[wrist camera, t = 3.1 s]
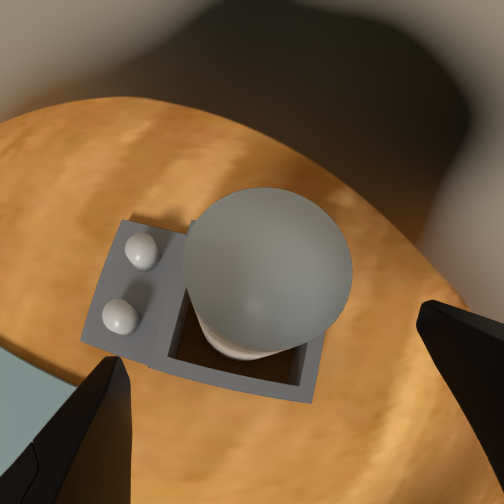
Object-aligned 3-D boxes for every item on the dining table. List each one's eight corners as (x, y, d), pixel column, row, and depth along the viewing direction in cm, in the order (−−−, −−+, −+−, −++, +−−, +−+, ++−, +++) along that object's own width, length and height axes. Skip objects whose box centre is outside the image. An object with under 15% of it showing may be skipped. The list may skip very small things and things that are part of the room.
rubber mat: (103, 397, 15) (100, 398, 15) (83, 556, 10) (81, 559, 9) (-37, 321, 15) (-41, 319, 14) (-50, 465, 9) (-54, 465, 9)
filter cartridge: (291, 289, 19) (357, 209, 10) (275, 368, 17) (341, 363, 8) (212, 270, 19) (209, 172, 10) (192, 349, 17) (161, 324, 8)
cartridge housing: (319, 271, 20) (335, 254, 17) (296, 399, 16) (311, 403, 14) (125, 224, 19) (112, 201, 17) (85, 342, 16) (63, 336, 13)
